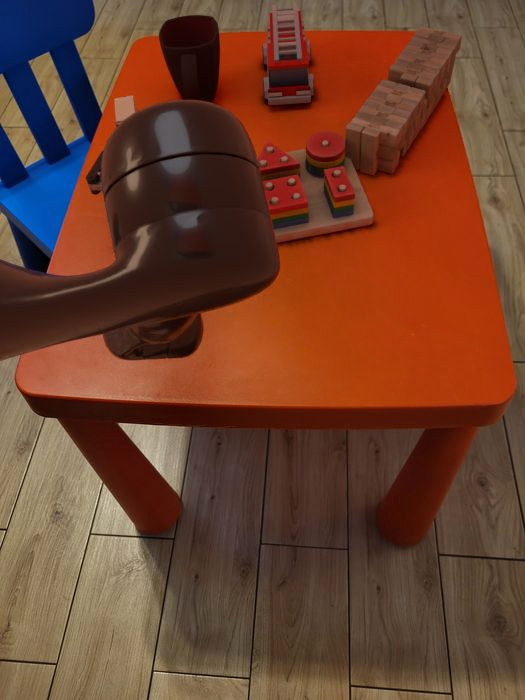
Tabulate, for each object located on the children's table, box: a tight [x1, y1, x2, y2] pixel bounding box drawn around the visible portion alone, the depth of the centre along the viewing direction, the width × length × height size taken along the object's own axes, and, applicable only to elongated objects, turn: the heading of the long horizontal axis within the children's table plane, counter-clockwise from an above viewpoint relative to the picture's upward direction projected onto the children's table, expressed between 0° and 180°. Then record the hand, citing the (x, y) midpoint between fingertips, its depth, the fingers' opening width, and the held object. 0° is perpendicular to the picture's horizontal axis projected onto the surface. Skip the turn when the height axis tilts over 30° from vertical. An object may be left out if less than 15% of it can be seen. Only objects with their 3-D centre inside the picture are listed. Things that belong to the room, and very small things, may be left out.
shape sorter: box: [257, 130, 374, 244], centre depth 92 cm, size 18×17×6 cm
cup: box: [158, 14, 221, 104], centre depth 104 cm, size 10×14×12 cm
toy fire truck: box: [261, 2, 315, 106], centre depth 107 cm, size 9×19×10 cm, turn 1°
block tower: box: [344, 26, 463, 176], centre depth 100 cm, size 8×8×29 cm
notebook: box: [113, 94, 138, 128], centre depth 83 cm, size 3×6×12 cm, turn 10°
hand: (133, 131), depth 84 cm, fingers closed on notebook, 2 cm apart
